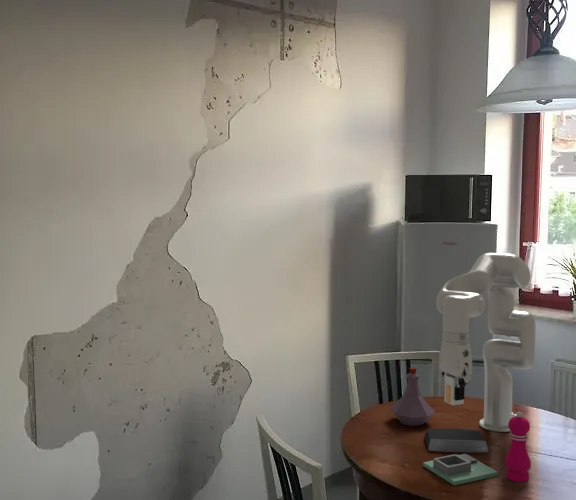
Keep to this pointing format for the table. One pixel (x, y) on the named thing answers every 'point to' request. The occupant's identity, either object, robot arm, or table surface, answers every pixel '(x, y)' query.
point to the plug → (451, 390)
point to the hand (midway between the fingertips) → (454, 396)
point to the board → (459, 469)
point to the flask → (412, 403)
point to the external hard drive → (455, 440)
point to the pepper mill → (518, 449)
